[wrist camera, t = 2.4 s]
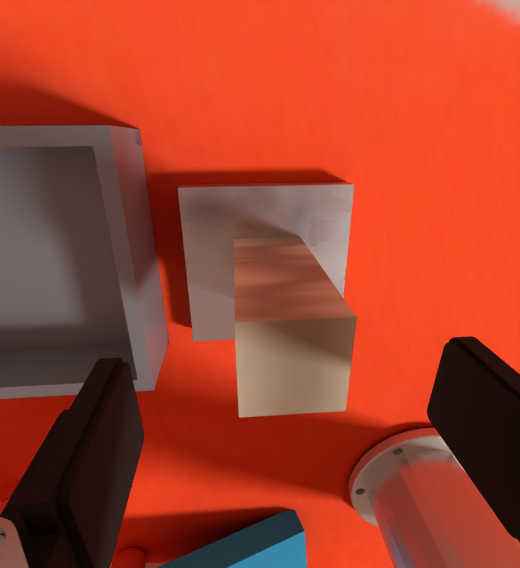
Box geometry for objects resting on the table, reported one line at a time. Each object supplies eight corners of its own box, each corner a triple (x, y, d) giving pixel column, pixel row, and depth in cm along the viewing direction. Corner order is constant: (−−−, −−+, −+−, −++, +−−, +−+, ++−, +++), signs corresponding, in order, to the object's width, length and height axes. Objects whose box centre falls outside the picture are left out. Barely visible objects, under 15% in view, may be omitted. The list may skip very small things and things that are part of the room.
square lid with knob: (346, 181, 20) (373, 191, 17) (333, 323, 24) (352, 358, 20) (181, 184, 20) (168, 195, 16) (195, 329, 24) (188, 367, 20)
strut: (300, 236, 20) (356, 317, 11) (298, 296, 22) (345, 411, 13) (233, 238, 20) (234, 322, 11) (236, 299, 21) (238, 417, 12)
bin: (139, 129, 19) (108, 125, 14) (168, 342, 24) (153, 390, 19) (-131, 131, 18) (-259, 127, 13) (-36, 352, 23) (-102, 404, 19)
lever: (275, 468, 37) (101, 537, 32) (304, 530, 31) (94, 629, 26) (279, 508, 40) (119, 578, 34) (307, 573, 33) (117, 670, 28)
